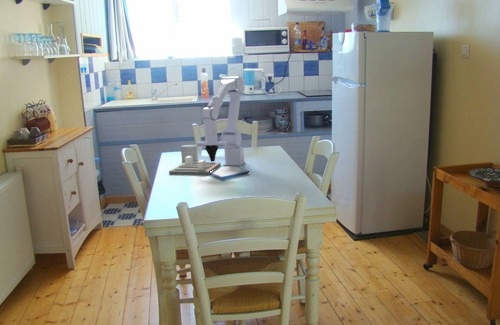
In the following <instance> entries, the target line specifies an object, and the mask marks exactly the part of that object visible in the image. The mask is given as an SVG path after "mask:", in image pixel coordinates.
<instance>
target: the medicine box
mask: <svg viewBox="0 0 500 325" xmlns="http://www.w3.org/2000/svg"><path fill="white" fill-rule="evenodd" d="M180 151H181V163H184V162H185V157H187V156H192V159H193V162H198V161H199V155H198V154H199V153H198V146H197V144H184V145H183V144H182V145H181V146H180Z"/></svg>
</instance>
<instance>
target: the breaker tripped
mask: <svg viewBox="0 0 500 325" xmlns="http://www.w3.org/2000/svg"><path fill="white" fill-rule="evenodd" d="M197 162H198V169H205V168H206V164H205V162H206V159H199V160H198V161H197Z"/></svg>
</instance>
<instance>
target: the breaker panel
mask: <svg viewBox="0 0 500 325" xmlns="http://www.w3.org/2000/svg"><path fill="white" fill-rule="evenodd" d="M205 164H206V168H205V169H198V161H197V162H193V164H185V162H181V163H180V164H179V165H177V166H175V167H174V168H172V169H171V170H169V172H168V175H176V176H177V175H178V176H179V175H183V176H184V175H185V176H189V175H190V176H210V174H211V173H210V171H212V170H214V169H216V168H217V169H218V168H219V167H221V166H222V165H221V164H222V163H221V162H215V161H214V162H211V161H205ZM217 169H216V170H217ZM214 171H215V170H214Z"/></svg>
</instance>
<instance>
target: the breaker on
mask: <svg viewBox="0 0 500 325" xmlns="http://www.w3.org/2000/svg"><path fill="white" fill-rule="evenodd" d="M185 164H193V159H192V156H187V157H185Z"/></svg>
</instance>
